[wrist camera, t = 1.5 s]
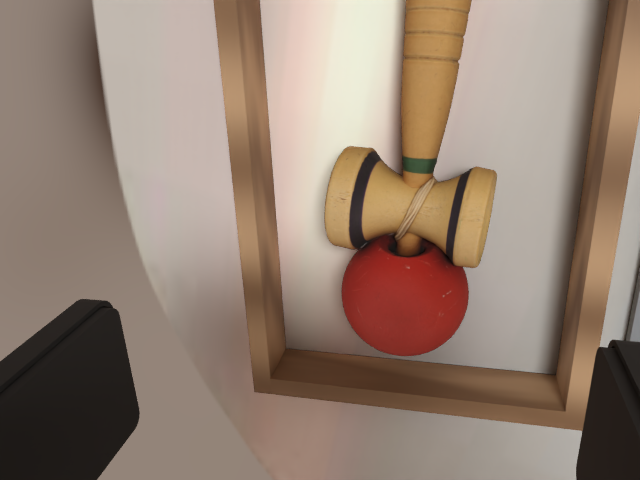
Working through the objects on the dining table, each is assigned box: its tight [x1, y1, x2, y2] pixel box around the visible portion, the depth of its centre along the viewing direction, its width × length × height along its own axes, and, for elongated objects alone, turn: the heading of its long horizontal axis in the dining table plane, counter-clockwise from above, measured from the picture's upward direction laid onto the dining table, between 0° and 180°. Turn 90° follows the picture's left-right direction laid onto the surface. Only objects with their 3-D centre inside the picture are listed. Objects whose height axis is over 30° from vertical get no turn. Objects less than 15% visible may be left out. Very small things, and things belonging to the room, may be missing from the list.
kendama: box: [325, 0, 497, 356], centre depth 25 cm, size 8×6×18 cm
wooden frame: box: [214, 0, 640, 431], centre depth 26 cm, size 25×17×3 cm
